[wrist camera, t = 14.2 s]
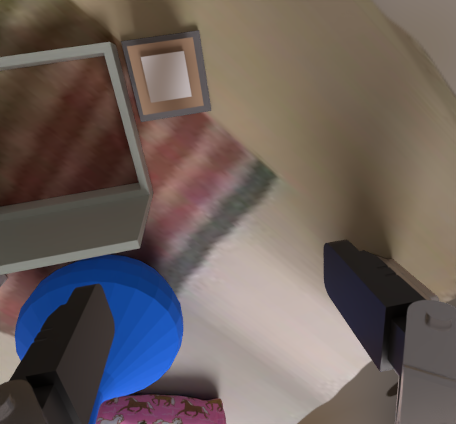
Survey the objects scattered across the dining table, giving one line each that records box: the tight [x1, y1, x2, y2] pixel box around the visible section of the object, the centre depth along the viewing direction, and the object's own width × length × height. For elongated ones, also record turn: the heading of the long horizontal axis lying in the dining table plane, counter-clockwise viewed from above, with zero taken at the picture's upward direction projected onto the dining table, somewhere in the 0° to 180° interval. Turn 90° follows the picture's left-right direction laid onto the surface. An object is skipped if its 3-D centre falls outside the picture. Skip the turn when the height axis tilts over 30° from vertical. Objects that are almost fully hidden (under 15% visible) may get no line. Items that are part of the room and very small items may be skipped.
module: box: [127, 37, 204, 115], centre depth 30 cm, size 6×6×8 cm
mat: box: [121, 30, 211, 122], centre depth 33 cm, size 8×8×1 cm
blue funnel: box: [15, 255, 183, 424], centre depth 35 cm, size 18×18×19 cm
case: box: [0, 42, 153, 275], centre depth 28 cm, size 19×16×14 cm
